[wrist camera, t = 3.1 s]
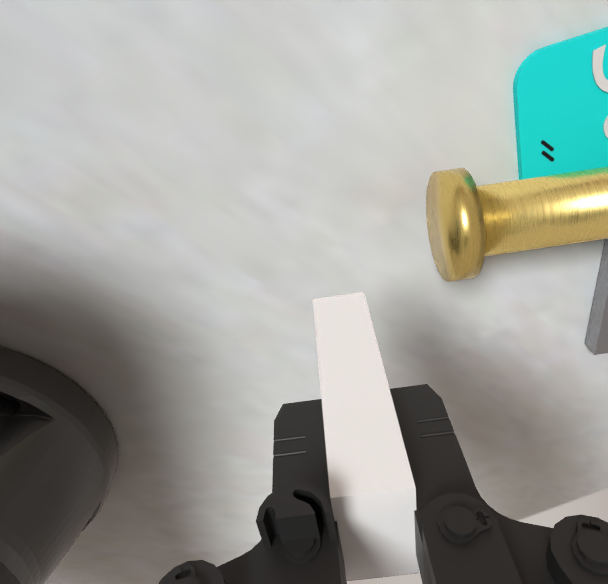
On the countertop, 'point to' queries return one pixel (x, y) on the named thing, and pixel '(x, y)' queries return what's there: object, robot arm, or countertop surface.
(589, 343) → the sliding bolt latch
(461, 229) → the pin
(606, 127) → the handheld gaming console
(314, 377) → the countertop surface
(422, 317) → the countertop surface
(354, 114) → the countertop surface
